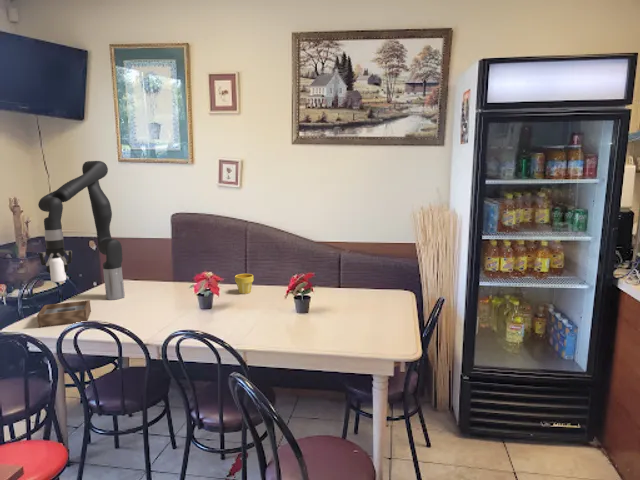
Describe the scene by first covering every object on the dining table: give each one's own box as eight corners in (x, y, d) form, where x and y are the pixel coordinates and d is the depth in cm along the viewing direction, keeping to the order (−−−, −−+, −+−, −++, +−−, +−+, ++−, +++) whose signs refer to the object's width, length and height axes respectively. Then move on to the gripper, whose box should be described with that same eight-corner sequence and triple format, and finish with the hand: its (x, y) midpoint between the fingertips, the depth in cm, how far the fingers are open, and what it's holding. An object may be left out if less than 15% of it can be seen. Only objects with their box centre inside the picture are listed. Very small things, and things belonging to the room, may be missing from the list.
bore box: (91, 311, 228) (89, 300, 227) (87, 321, 213) (85, 309, 212) (45, 316, 221) (44, 305, 220) (38, 327, 206) (36, 315, 205)
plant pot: (246, 288, 264) (246, 272, 262) (257, 292, 257) (257, 275, 255) (232, 292, 257) (231, 275, 255) (242, 296, 250) (242, 279, 248)
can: (59, 282, 215) (56, 258, 213) (47, 282, 217) (45, 257, 215) (69, 279, 222) (67, 255, 220) (58, 278, 223) (55, 255, 221)
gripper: (72, 236, 222) (76, 269, 224) (39, 238, 217) (43, 272, 220) (69, 239, 215) (73, 273, 217) (35, 240, 210) (39, 275, 213)
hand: (58, 272), depth 219 cm, fingers closed on can, 6 cm apart
